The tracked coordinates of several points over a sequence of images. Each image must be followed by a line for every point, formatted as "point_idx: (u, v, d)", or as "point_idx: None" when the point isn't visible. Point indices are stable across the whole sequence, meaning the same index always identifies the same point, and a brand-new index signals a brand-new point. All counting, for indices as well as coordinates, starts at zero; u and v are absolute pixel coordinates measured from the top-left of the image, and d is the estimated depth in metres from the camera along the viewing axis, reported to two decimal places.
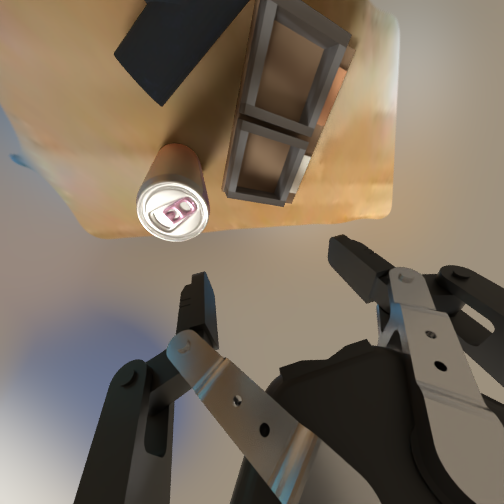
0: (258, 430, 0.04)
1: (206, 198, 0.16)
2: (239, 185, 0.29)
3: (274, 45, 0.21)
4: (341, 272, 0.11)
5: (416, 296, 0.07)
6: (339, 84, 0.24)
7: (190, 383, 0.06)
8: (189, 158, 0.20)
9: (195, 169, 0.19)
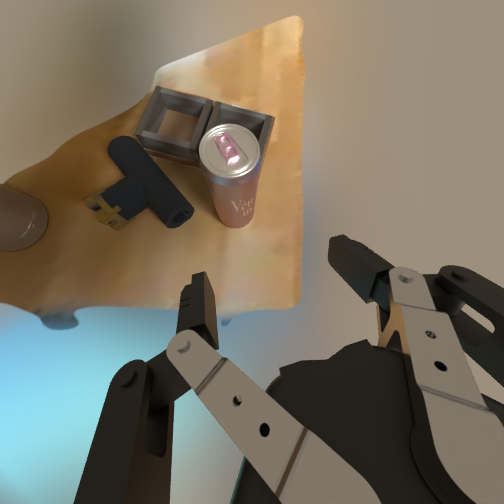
0: (258, 430, 0.04)
1: None
2: None
3: None
4: (341, 272, 0.11)
5: (416, 296, 0.07)
6: None
7: (190, 383, 0.06)
8: None
9: None
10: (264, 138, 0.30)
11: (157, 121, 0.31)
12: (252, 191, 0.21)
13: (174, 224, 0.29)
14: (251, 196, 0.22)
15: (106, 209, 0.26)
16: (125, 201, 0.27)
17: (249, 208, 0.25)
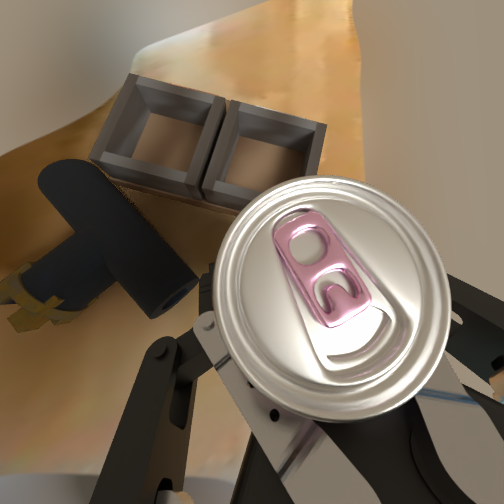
0: (258, 430, 0.04)
1: None
2: None
3: None
4: None
5: None
6: None
7: (211, 358, 0.06)
8: None
9: None
10: (316, 164, 0.17)
11: (132, 133, 0.19)
12: None
13: (166, 308, 0.17)
14: None
15: (31, 307, 0.13)
16: (70, 285, 0.14)
17: None
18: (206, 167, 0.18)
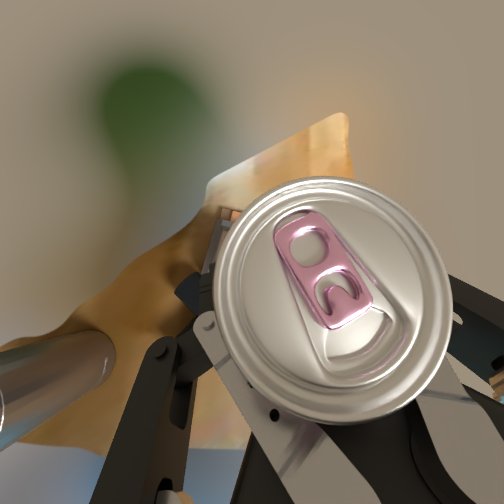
0: (258, 430, 0.04)
1: None
2: None
3: None
4: None
5: None
6: (239, 214, 0.34)
7: (211, 358, 0.06)
8: None
9: None
10: None
11: (216, 249, 0.32)
12: None
13: None
14: None
15: None
16: None
17: None
18: None
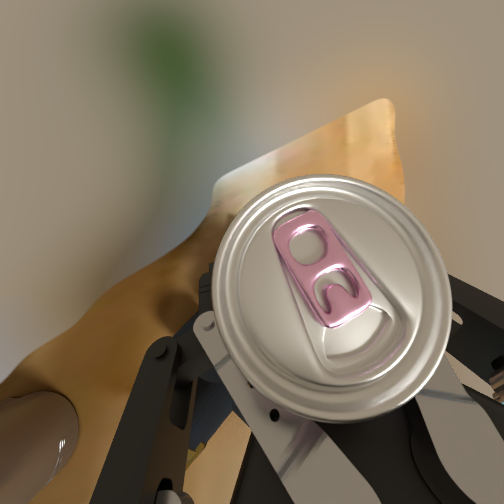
0: (258, 430, 0.04)
1: None
2: None
3: None
4: None
5: None
6: None
7: (210, 358, 0.06)
8: None
9: None
10: None
11: None
12: None
13: None
14: None
15: (188, 457, 0.17)
16: (210, 431, 0.18)
17: None
18: None
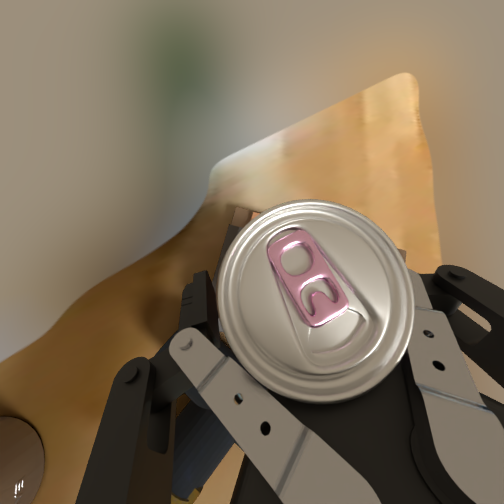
0: (258, 430, 0.04)
1: None
2: None
3: None
4: None
5: None
6: None
7: (192, 380, 0.06)
8: None
9: None
10: None
11: None
12: None
13: None
14: None
15: None
16: (207, 473, 0.14)
17: None
18: None
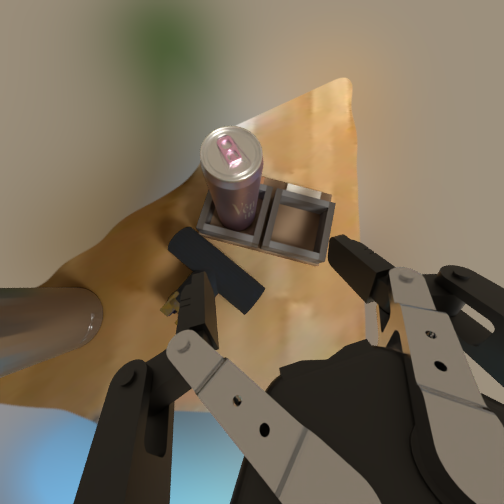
0: (258, 430, 0.04)
1: None
2: (312, 248, 0.31)
3: (220, 223, 0.31)
4: (341, 272, 0.11)
5: (416, 296, 0.07)
6: None
7: (190, 383, 0.06)
8: None
9: None
10: (329, 229, 0.28)
11: (213, 205, 0.30)
12: (254, 194, 0.20)
13: None
14: (253, 199, 0.21)
15: None
16: None
17: (251, 211, 0.24)
18: None
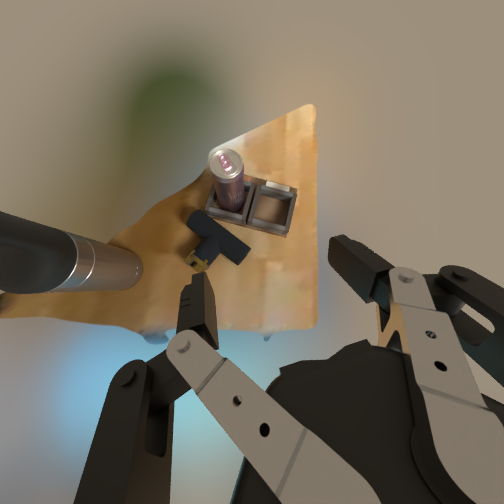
0: (258, 430, 0.04)
1: None
2: (283, 225, 0.45)
3: (220, 208, 0.45)
4: (341, 272, 0.11)
5: (416, 296, 0.07)
6: None
7: (190, 383, 0.06)
8: None
9: None
10: (292, 211, 0.43)
11: (215, 196, 0.45)
12: (240, 186, 0.35)
13: (240, 262, 0.43)
14: (239, 189, 0.36)
15: (200, 263, 0.39)
16: (210, 255, 0.40)
17: (239, 198, 0.39)
18: (248, 211, 0.43)
